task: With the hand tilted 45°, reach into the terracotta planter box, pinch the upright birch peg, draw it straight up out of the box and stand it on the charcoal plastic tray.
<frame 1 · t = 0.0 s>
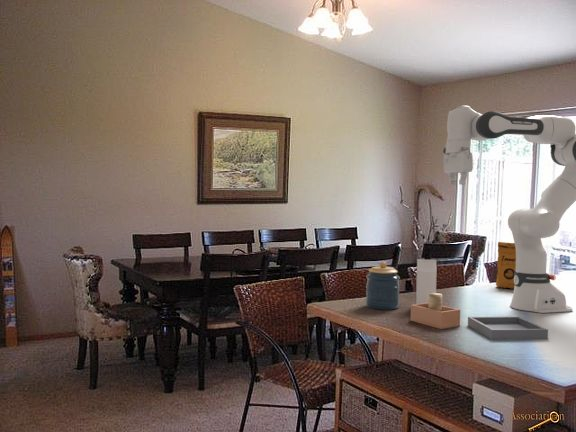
hand: (457, 184, 217), 48 cm above the kitchen island counter, tool pointing down, fingers open, 8 cm apart
coffee package: (509, 288, 269), on the kitchen island counter
birch peg: (435, 308, 193), in the terracotta planter box
canister: (382, 307, 220), on the kitchen island counter
milk carton: (425, 309, 218), on the kitchen island counter
terracotta planter box: (434, 323, 193), on the kitchen island counter
charcoal tray: (505, 332, 182), on the kitchen island counter
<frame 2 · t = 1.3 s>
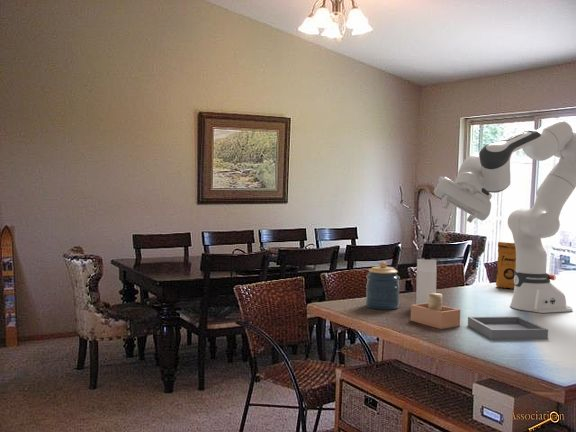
hand: (457, 214, 192), 38 cm above the kitchen island counter, tool tilted 50°, fingers open, 8 cm apart
nothing on the kitchen island counter moved.
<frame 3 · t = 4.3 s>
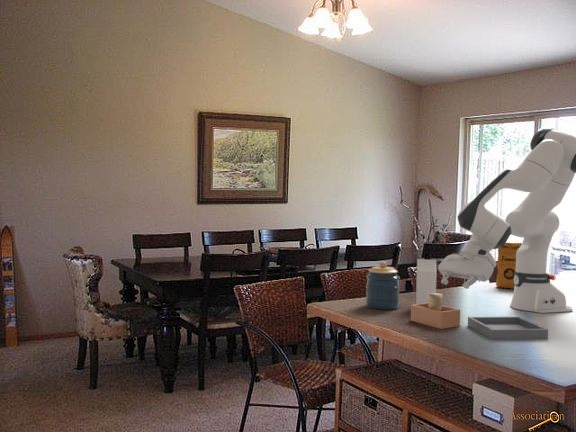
hand: (453, 285, 196), 13 cm above the kitchen island counter, tool tilted 45°, fingers open, 8 cm apart
nothing on the kitchen island counter moved.
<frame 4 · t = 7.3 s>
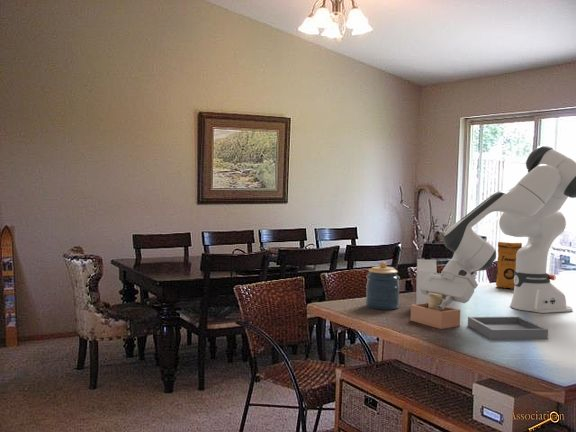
hand: (433, 306, 193), 6 cm above the kitchen island counter, tool tilted 45°, fingers closed on birch peg, 4 cm apart
birch peg: (435, 308, 193), in the terracotta planter box, touching gripper
everything else where it was.
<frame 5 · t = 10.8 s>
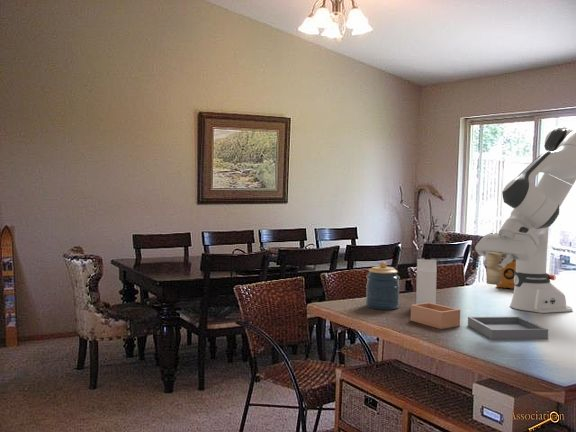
hand: (493, 265, 183), 21 cm above the kitchen island counter, tool tilted 45°, fingers closed on birch peg, 4 cm apart
birch peg: (494, 268, 184), point 20 cm above the kitchen island counter, touching gripper
everything else where it was.
when the fingers open (8 cm above the kitchen island counter, at t = 14.5 s): birch peg drops 1 cm, resting on charcoal tray.
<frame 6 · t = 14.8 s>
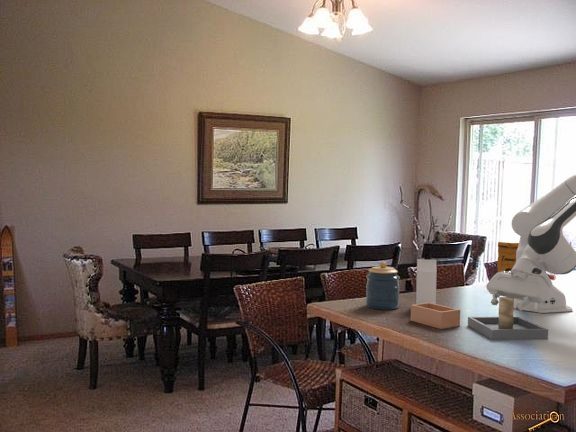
hand: (505, 306, 182), 8 cm above the kitchen island counter, tool tilted 45°, fingers open, 8 cm apart
birch peg: (506, 313, 182), in the charcoal tray, point 6 cm above the kitchen island counter
everything else where it was.
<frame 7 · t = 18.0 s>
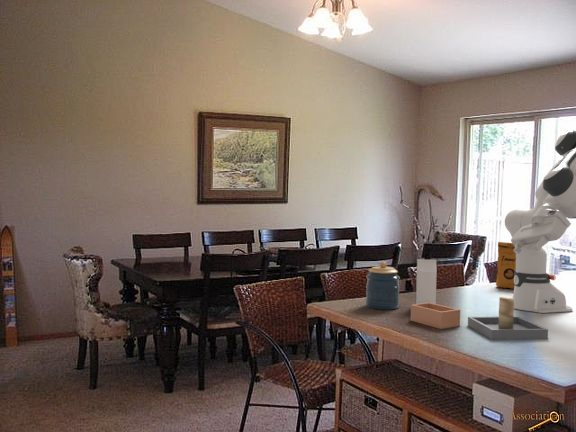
hand: (526, 250, 187), 26 cm above the kitchen island counter, tool tilted 45°, fingers open, 8 cm apart
nothing on the kitchen island counter moved.
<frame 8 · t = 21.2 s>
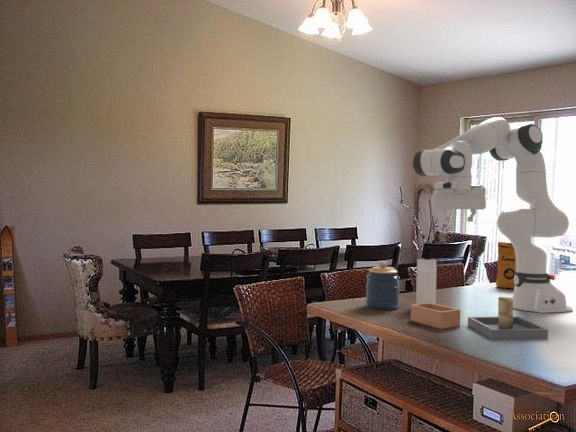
hand: (458, 221, 212), 34 cm above the kitchen island counter, tool pointing down, fingers open, 8 cm apart
nothing on the kitchen island counter moved.
at the end: birch peg inside the target area on the charcoal tray (0.1 cm from its centre), point 6.1 cm above the charcoal tray's base; birch peg tilted 2°; the gripper is holding nothing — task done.
